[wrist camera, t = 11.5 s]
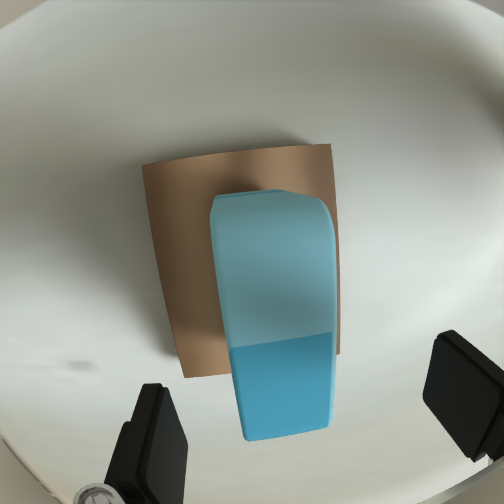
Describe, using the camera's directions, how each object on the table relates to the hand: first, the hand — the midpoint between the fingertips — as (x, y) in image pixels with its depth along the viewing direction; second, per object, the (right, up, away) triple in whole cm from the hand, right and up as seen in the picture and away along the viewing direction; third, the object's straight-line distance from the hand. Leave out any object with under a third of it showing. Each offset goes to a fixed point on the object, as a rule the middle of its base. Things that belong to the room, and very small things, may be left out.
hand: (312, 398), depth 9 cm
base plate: (-2, +4, +17) cm, 18 cm away
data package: (-2, +3, +15) cm, 15 cm away
